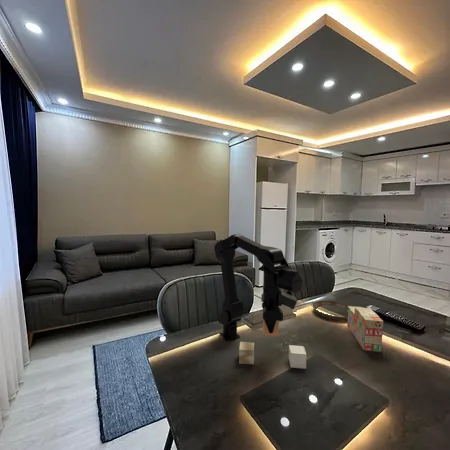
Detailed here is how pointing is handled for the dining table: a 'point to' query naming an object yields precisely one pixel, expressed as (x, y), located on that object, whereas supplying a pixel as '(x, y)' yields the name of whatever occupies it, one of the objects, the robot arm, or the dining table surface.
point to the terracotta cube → (275, 331)
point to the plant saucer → (330, 303)
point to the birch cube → (246, 353)
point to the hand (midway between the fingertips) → (270, 329)
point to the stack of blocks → (366, 328)
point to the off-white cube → (297, 356)
